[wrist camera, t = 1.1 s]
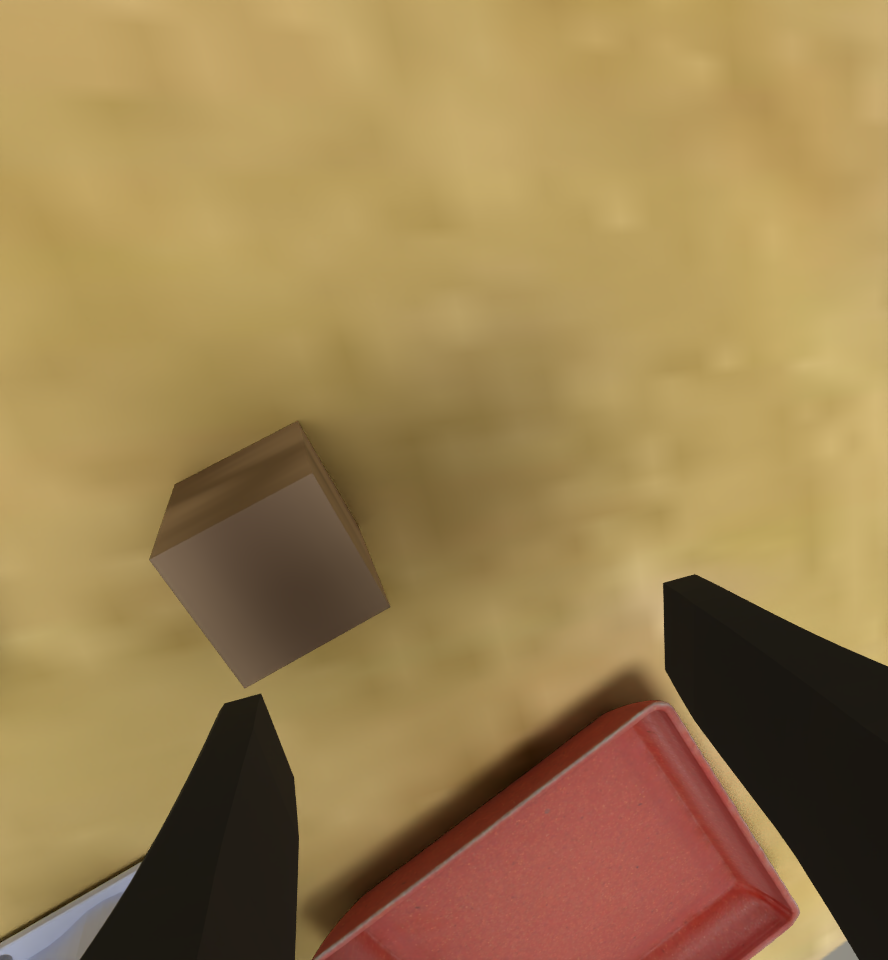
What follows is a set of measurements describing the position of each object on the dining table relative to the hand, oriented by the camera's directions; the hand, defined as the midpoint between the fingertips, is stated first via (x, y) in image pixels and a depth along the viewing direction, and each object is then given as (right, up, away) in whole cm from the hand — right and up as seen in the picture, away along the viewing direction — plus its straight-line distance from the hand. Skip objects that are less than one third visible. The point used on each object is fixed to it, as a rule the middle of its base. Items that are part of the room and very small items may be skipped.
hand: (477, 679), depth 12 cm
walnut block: (-7, +3, +11) cm, 13 cm away
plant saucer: (+5, -16, +21) cm, 27 cm away
